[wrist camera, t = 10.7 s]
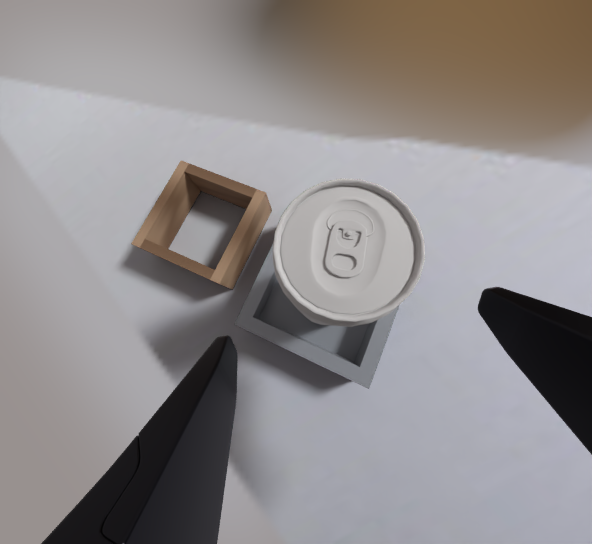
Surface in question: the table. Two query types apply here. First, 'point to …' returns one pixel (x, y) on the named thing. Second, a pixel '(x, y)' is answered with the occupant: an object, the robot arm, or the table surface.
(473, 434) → the table surface
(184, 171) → the wooden frame
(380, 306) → the beverage can
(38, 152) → the table surface
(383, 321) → the tray
